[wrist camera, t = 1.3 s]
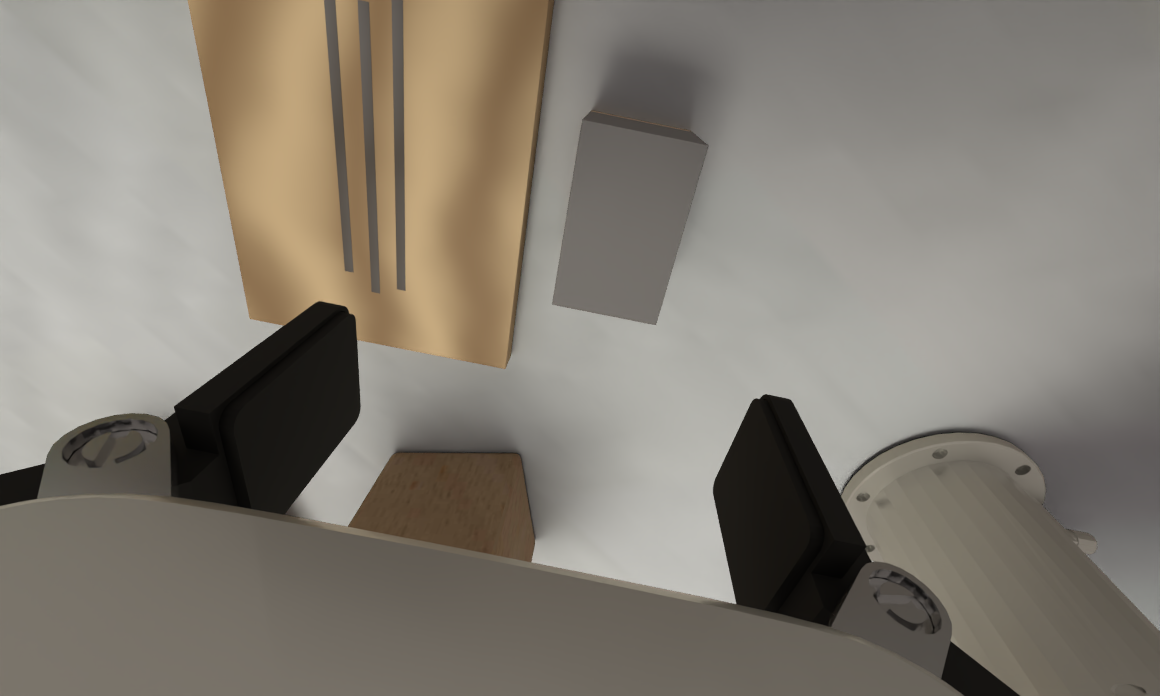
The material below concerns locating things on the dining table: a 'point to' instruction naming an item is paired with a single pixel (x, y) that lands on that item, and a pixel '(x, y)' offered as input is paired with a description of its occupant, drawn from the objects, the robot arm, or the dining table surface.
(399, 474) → the wooden block
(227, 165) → the board
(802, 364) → the dining table surface
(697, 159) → the block
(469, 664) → the robot arm
